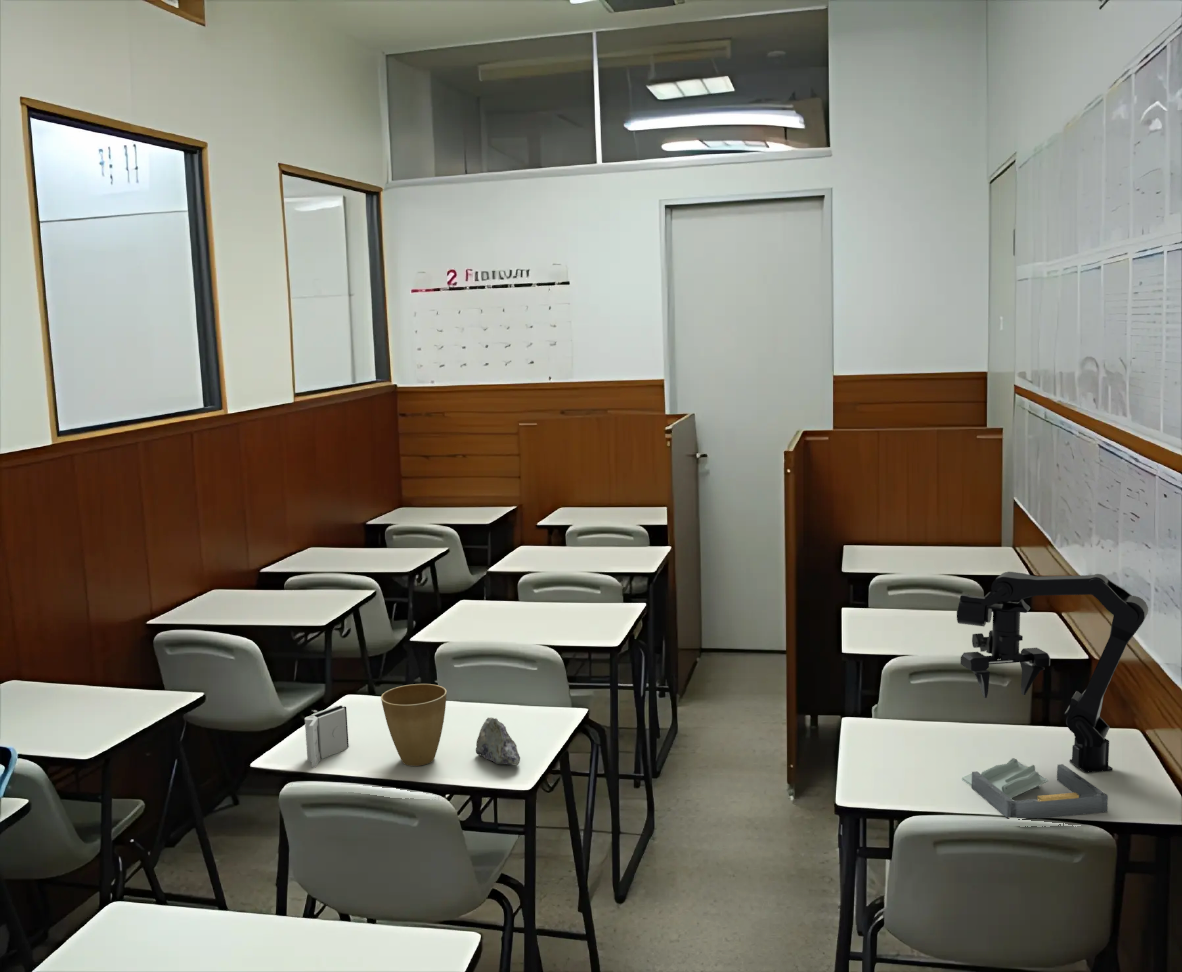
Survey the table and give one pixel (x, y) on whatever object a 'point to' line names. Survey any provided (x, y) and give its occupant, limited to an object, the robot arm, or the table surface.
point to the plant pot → (415, 720)
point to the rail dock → (1046, 798)
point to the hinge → (326, 733)
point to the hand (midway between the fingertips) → (1004, 696)
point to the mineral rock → (496, 743)
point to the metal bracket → (1011, 778)
